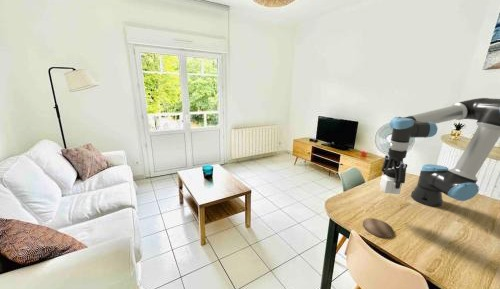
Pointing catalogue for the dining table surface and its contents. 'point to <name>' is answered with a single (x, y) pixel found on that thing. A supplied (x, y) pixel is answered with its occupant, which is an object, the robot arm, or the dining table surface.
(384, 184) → the medicine bottle
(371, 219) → the walnut coaster
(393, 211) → the dining table surface
